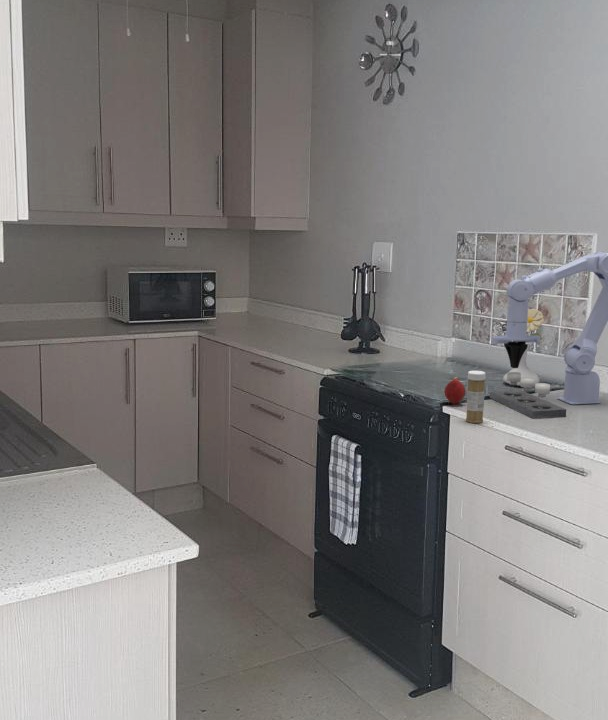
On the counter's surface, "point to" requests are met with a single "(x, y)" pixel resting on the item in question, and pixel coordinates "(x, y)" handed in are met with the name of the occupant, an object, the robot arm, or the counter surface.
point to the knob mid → (527, 383)
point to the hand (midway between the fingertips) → (514, 367)
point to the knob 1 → (513, 377)
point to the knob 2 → (542, 389)
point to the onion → (455, 391)
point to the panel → (528, 404)
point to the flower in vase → (532, 324)
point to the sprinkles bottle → (475, 396)
